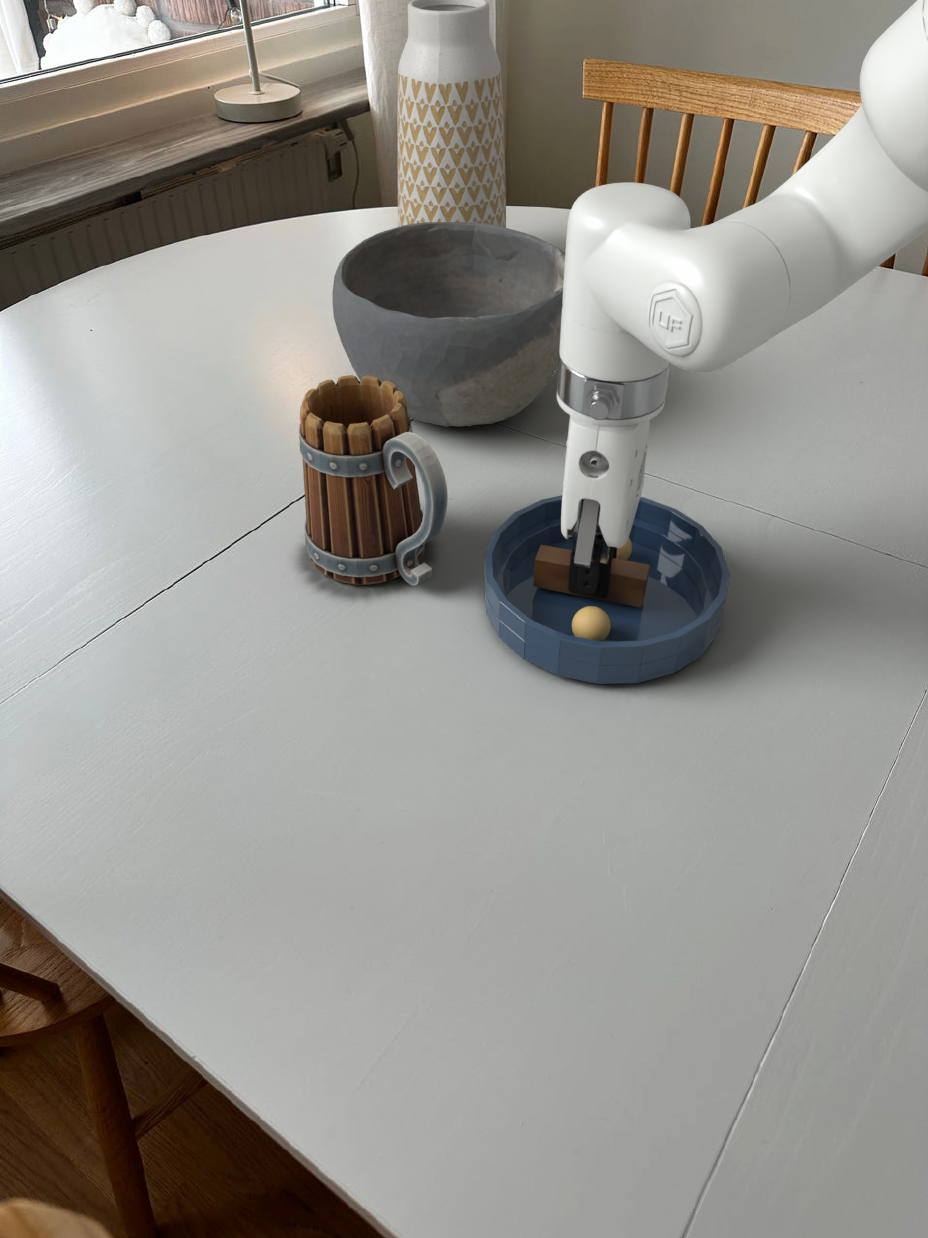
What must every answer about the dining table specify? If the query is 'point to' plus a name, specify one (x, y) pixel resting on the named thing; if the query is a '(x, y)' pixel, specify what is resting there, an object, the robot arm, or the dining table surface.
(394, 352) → the bowl
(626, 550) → the bead
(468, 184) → the vase
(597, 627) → the bead
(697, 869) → the dining table surface
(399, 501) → the mug
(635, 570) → the brown wooden block
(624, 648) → the round tray
